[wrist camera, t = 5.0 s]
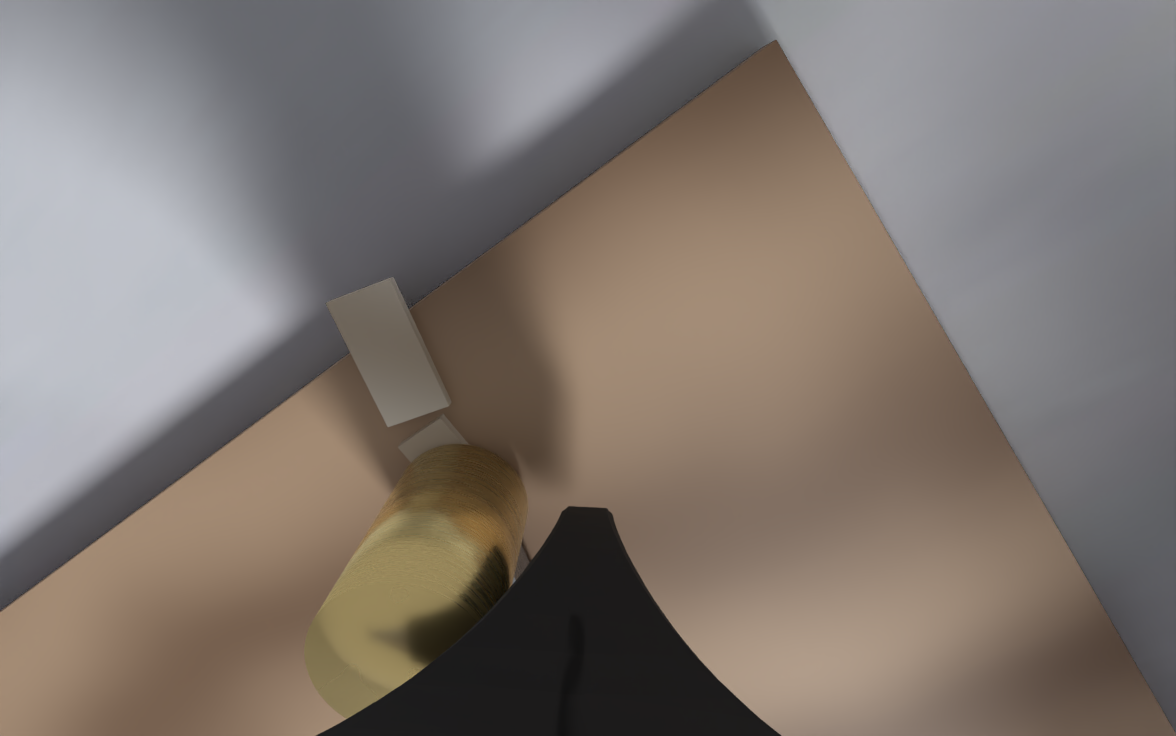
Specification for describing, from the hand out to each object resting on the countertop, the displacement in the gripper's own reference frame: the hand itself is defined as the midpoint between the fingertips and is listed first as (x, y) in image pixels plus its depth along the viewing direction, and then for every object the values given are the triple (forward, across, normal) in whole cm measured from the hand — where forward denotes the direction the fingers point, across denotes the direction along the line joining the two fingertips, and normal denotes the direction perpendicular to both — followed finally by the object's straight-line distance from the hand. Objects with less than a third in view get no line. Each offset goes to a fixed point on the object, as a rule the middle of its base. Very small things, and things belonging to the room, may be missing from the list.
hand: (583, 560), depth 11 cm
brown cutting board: (+3, -1, +8) cm, 9 cm away
